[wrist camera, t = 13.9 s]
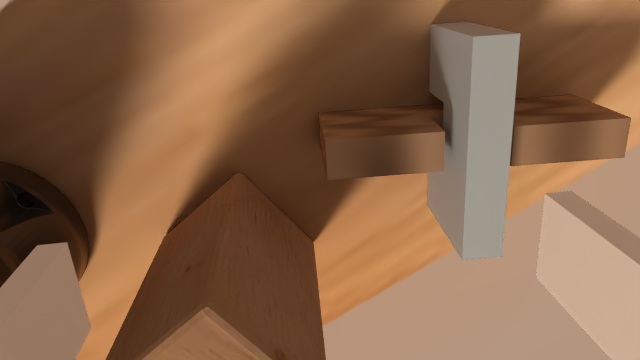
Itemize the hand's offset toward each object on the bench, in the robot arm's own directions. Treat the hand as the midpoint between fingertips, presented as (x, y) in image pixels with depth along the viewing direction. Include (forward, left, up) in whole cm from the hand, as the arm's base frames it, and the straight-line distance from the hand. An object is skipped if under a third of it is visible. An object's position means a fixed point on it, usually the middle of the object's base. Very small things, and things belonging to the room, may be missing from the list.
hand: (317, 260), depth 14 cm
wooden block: (-6, -15, -30) cm, 34 cm away
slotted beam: (+13, -5, -30) cm, 33 cm away
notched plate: (+13, -5, -30) cm, 33 cm away
